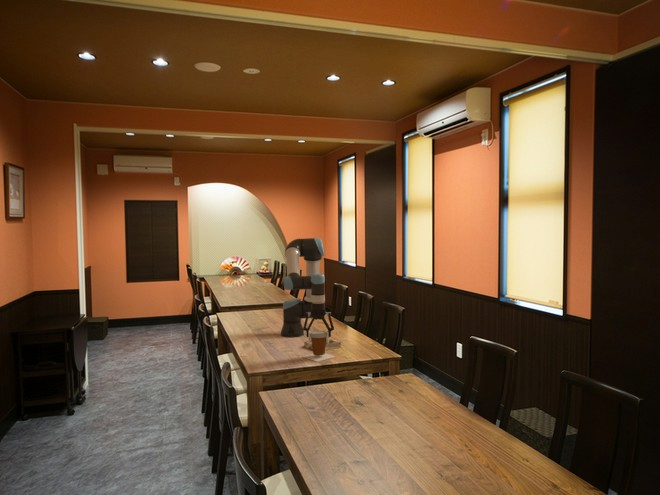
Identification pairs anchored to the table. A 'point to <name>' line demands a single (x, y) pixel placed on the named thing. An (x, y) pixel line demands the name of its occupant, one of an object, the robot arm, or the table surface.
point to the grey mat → (318, 357)
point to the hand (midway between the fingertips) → (318, 342)
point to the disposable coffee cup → (318, 342)
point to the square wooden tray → (329, 346)
